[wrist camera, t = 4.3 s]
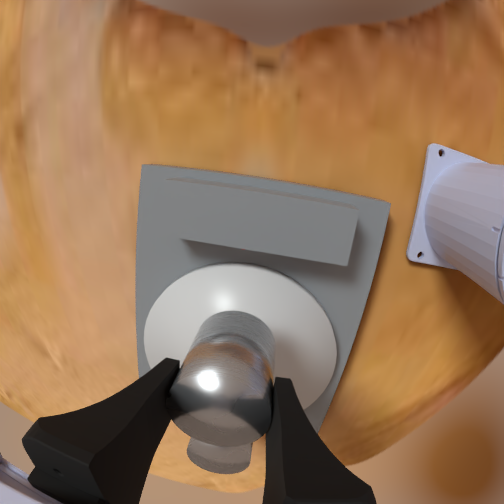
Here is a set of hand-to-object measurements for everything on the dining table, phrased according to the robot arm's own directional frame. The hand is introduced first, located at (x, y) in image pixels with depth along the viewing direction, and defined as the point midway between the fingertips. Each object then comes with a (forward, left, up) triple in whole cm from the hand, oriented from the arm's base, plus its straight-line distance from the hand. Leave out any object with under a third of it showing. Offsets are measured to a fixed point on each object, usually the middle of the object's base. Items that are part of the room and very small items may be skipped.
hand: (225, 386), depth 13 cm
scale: (0, +2, -9) cm, 9 cm away
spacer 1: (0, 0, -3) cm, 3 cm away
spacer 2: (0, +8, -7) cm, 10 cm away
